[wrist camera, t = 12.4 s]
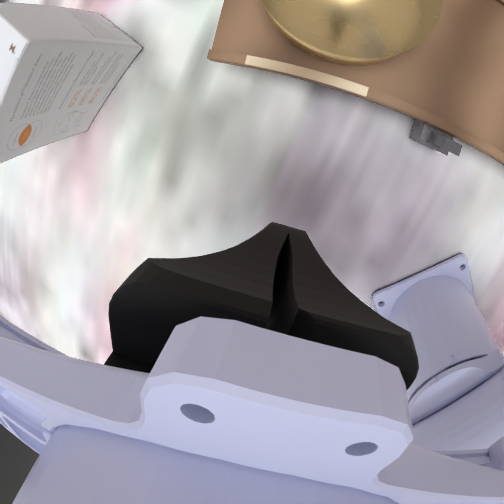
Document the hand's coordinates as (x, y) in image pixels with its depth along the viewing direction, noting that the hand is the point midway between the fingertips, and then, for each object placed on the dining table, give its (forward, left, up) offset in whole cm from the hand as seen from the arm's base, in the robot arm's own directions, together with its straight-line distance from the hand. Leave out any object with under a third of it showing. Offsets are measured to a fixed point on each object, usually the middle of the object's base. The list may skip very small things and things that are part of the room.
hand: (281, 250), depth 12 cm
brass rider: (+8, -8, -6) cm, 13 cm away
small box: (+15, +8, -10) cm, 20 cm away
